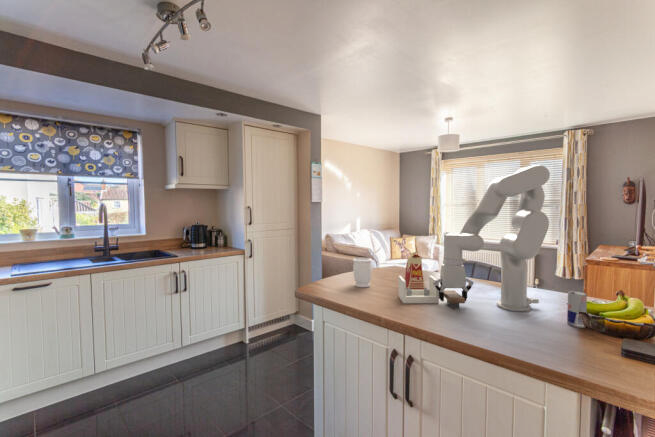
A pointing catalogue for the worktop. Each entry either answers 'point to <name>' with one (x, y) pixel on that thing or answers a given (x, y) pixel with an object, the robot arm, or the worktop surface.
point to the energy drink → (576, 308)
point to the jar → (362, 271)
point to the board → (453, 297)
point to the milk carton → (414, 273)
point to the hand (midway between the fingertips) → (452, 300)
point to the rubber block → (453, 305)
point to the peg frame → (418, 293)
